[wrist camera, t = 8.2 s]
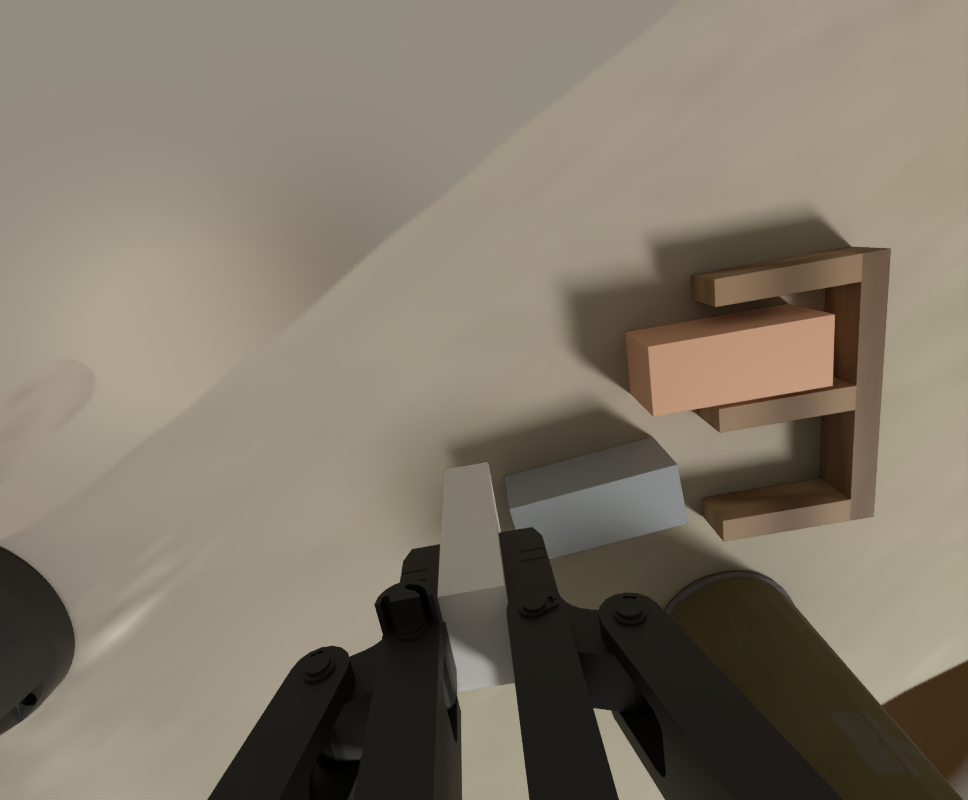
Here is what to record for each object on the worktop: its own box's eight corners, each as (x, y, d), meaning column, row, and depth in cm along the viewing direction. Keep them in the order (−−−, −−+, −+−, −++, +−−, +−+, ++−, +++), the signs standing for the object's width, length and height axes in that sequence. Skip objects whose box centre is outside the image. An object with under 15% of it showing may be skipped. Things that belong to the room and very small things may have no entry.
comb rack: (703, 517, 37) (723, 541, 34) (692, 274, 32) (714, 279, 29) (841, 494, 37) (873, 516, 34) (852, 246, 32) (890, 248, 29)
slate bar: (519, 526, 37) (526, 565, 33) (504, 475, 36) (509, 509, 31) (661, 488, 36) (688, 523, 32) (651, 435, 35) (677, 464, 31)
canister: (822, 601, 39) (1158, 951, 20) (742, 702, 42) (972, 1094, 23) (699, 547, 38) (941, 875, 19) (624, 656, 40) (767, 1040, 21)
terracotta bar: (629, 393, 34) (653, 416, 30) (624, 331, 33) (648, 346, 29) (786, 366, 34) (832, 385, 30) (786, 303, 33) (834, 314, 28)
